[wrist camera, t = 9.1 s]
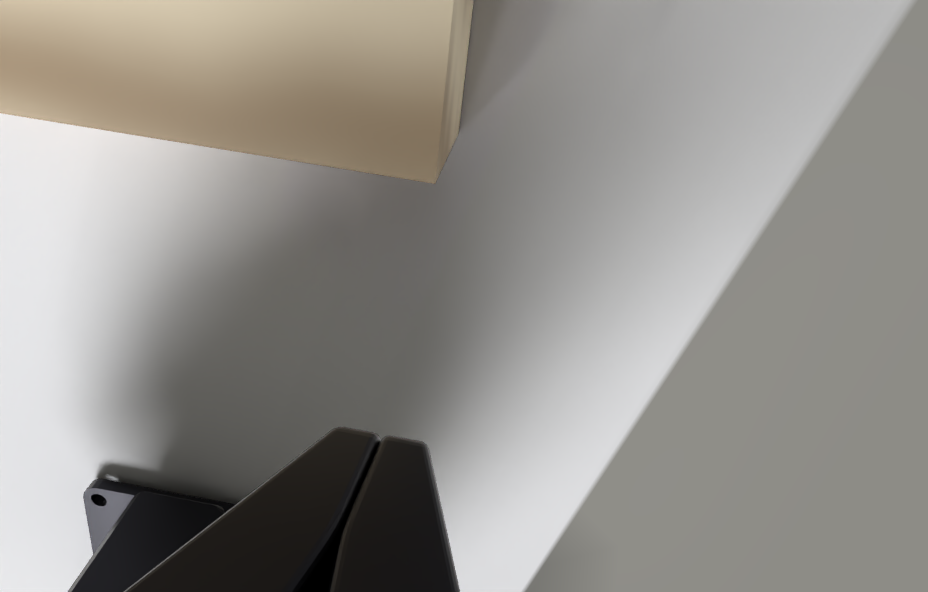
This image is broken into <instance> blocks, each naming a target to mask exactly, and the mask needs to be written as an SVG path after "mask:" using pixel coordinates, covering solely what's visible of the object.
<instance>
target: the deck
mask: <svg viewBox="0 0 928 592" xmlns="http://www.w3.org/2000/svg"><path fill="white" fill-rule="evenodd" d="M473 1H474V0H0V113H3V114H9V115H15V116H21V117H27V118H33V119H39V120H46V121H52V122H58V123H64V124H70V125H76V126H82V127H89V128H95V129H101V130H107V131H113V132H119V133H125V134H132V135H138V136H144V137H150V138H156V139H162V140H168V141H175V142H181V143H187V144H193V145H199V146H205V147H211V148H218V149H224V150H230V151H236V152H242V153H248V154H254V155H261V156H267V157H273V158H279V159H285V160H291V161H297V162H304V163H310V164H316V165H322V166H328V167H334V168H340V169H347V170H353V171H359V172H365V173H371V174H377V175H383V176H390V177H396V178H402V179H408V180H414V181H420V182H426V183H433V184H435V183H436V181H437V179H438V177H439V175H440V172H441V170H442V168H443V166H444V164H445V162H446V159H447V157H448V155H449V153H450V151H451V149H452V147H453V144H454V142H455V140H456V138H457V136H458V134H459V125H460V117H461V108H462V99H463V90H464V81H465V72H466V63H467V55H468V46H469V37H470V28H471V19H472V10H473Z"/></svg>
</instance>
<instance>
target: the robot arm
mask: <svg viewBox="0 0 928 592" xmlns="http://www.w3.org/2000/svg"><path fill="white" fill-rule="evenodd" d="M83 498H84V503H85V509H86V515H87V521H88V526H89V532H90V538H91V544H92V549H93V556H92V557H91V559H90V560H89V562H88V563H87V565H86V566H85V567H84V569H83V570H82V572H81V573H80V575H79V576H78V578H77V579H76V580H75V582H74V583H73V585H72V586H71V588H70V589H69V590H68V592H460V589H459V585H458V580H457V576H456V571H455V566H454V562H453V557H452V553H451V548H450V544H449V539H448V534H447V530H446V525H445V521H444V516H443V512H442V507H441V502H440V498H439V493H438V489H437V484H436V480H435V475H434V470H433V466H432V461H431V457H430V452H429V449H428V447H427V445H426V444H425V443H424V442H421V441H417V440H411V439H406V438H400V437H395V436H386V437H384V438H383V439H382V440H381V439H380V437H379V436H378V435H377V434H376V433H374V432H368V431H363V430H357V429H352V428H347V427H338V428H335V429H333V430H331V431H330V432H329V433H327V434H326V435H325V436H323V437H322V438H321V439H320V440H318V441H317V442H316V443H314V444H313V445H312V446H311V447H309V448H308V449H307V450H305V451H304V452H303V453H302V454H300V455H299V456H298V457H296V458H295V459H294V460H293V461H291V462H290V463H289V464H287V465H286V466H285V467H283V468H282V469H281V470H280V471H278V472H277V473H276V474H274V475H273V476H272V477H271V478H269V479H268V480H267V481H265V482H264V483H263V484H262V485H260V486H259V487H258V488H256V489H255V490H254V491H253V492H251V493H250V494H249V495H247V496H246V497H245V498H244V499H242V500H241V501H240V502H238V503H237V504H236V505H234V504H229V503H224V502H219V501H213V500H208V499H203V498H198V497H193V496H188V495H182V494H177V493H172V492H167V491H162V490H157V489H151V488H146V487H141V486H136V485H131V484H126V483H120V482H115V481H110V480H105V479H97V480H94V481H93V482H92V483H91V484H90V485H89V487H88V488H87V489H86V491H85V492H84V496H83Z"/></svg>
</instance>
